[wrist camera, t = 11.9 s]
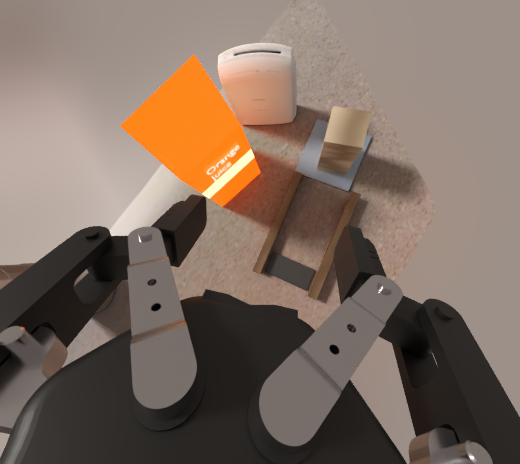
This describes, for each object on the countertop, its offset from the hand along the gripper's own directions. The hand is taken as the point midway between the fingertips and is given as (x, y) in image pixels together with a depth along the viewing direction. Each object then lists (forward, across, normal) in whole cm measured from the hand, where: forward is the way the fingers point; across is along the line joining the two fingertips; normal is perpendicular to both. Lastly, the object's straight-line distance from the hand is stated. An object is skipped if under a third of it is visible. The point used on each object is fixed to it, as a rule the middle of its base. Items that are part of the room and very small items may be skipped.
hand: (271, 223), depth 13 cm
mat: (+27, -7, +3) cm, 28 cm away
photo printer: (+32, +5, -1) cm, 32 cm away
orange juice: (+25, +10, +8) cm, 28 cm away
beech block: (+26, -7, +3) cm, 27 cm away
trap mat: (+15, -4, +18) cm, 23 cm away
